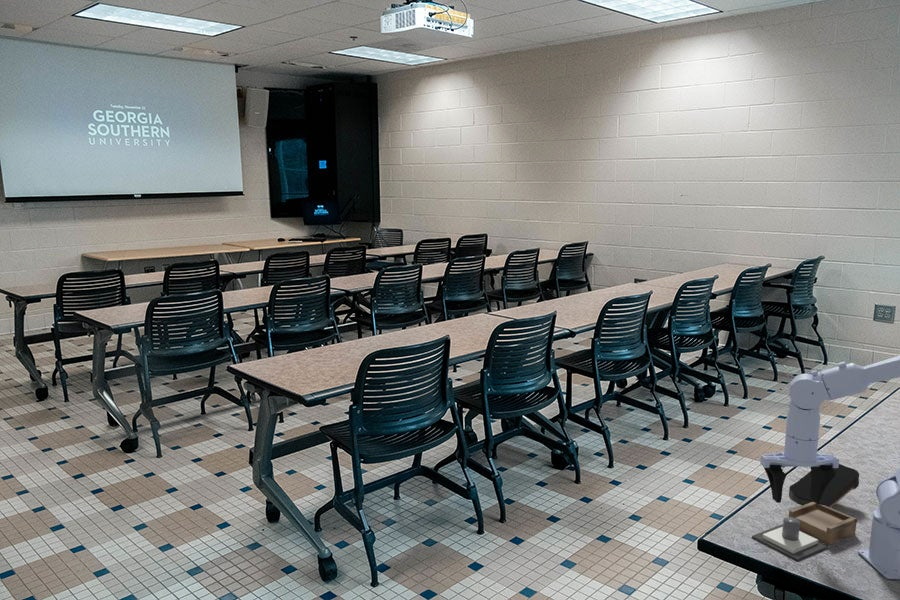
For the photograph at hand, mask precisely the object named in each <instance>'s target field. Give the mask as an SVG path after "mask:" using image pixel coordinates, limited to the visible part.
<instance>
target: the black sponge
mask: <svg viewBox="0 0 900 600" xmlns="http://www.w3.org/2000/svg"><path fill="white" fill-rule="evenodd" d="M832 469H833V470H834V471H836V474H835V477H834V478H833V479H832V480H831V481H830V482H829V484H828V485H827V487H826V488H825V490H824V492H823V494H822V497H821V499H820V502H819V503H817V504H822V505H825V506H828V507H830V508H833V506H835V505H836V504H838V502H839V501H841V500H842V499H843V498H844V497H845V496H846V495H847V494H849V493H850V492H851V491H853V490H856V489H857V488H858V487H859V485H860V473H859V471H858V470H857V469H854V468H851V467H848V466H845V465H844V464H842V463H839V466H838V468H832ZM810 491H811V470H810V471H809V472H808V473H806V474H805V475H804V476H802V477H800V478H799V480H798V481H796V482H795V483H793V484H791V485H790V486H789V490H788V496H789V497H788V498H789V499H790V500H791V501H792V502H794V503H795V504H797V505H799V506H803V505H805V504H808V503H811V502H814V501H813V500H812V499H811V497H810Z"/></svg>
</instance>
